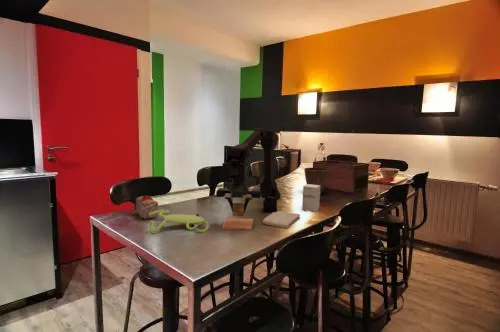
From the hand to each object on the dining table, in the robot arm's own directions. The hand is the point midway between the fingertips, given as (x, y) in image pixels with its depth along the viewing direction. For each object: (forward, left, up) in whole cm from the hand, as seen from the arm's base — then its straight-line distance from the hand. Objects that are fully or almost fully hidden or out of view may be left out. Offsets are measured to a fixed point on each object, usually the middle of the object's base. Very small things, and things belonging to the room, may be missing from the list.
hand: (238, 212), depth 127 cm
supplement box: (-35, -28, -6) cm, 45 cm away
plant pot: (-43, -65, -6) cm, 78 cm away
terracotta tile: (0, 0, -6) cm, 6 cm away
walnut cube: (0, 0, -1) cm, 1 cm away
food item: (+44, -7, -6) cm, 45 cm away
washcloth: (-19, -7, -6) cm, 21 cm away
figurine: (+26, +4, -6) cm, 27 cm away
